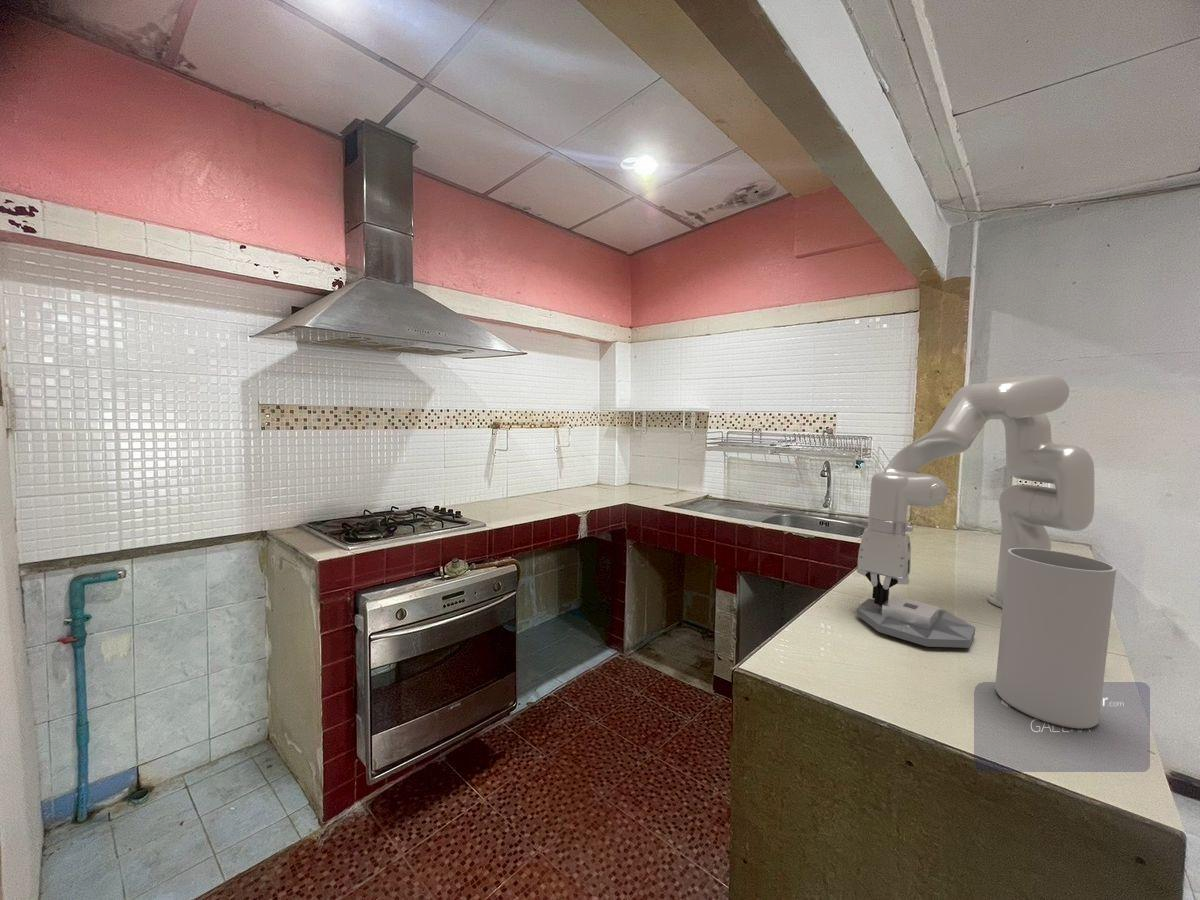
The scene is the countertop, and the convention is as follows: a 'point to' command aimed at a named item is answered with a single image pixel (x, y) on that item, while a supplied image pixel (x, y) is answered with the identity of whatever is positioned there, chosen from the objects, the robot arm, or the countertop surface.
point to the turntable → (920, 628)
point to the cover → (910, 612)
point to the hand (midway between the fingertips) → (879, 602)
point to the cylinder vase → (1055, 635)
